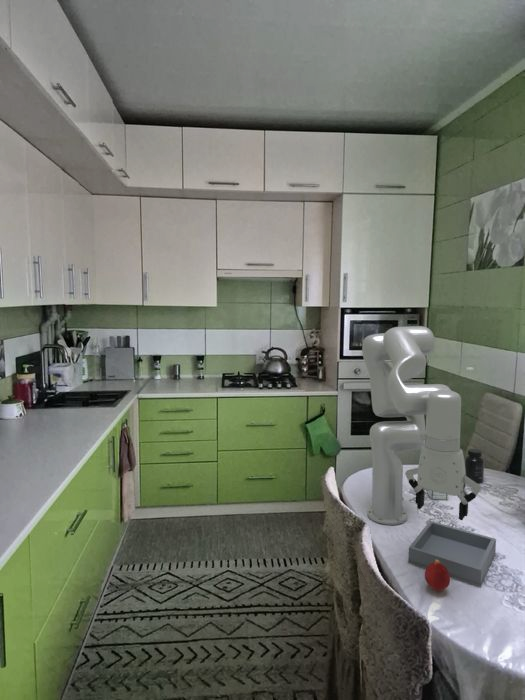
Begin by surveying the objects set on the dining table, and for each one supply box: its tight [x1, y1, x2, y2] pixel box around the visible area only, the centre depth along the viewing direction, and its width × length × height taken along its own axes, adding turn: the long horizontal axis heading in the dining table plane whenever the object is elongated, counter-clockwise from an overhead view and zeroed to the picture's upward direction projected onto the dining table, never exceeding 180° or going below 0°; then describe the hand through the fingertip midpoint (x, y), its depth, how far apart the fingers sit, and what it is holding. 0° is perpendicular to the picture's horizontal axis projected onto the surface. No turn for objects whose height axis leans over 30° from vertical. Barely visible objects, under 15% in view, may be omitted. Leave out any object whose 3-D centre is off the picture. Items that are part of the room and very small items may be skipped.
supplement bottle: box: [464, 448, 485, 484], centre depth 177 cm, size 7×7×12 cm
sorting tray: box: [407, 520, 497, 588], centre depth 125 cm, size 18×18×4 cm
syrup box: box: [426, 489, 449, 501], centre depth 162 cm, size 6×6×14 cm
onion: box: [424, 560, 451, 592], centre depth 111 cm, size 6×6×8 cm
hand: (440, 512), depth 109 cm, fingers open, 9 cm apart
